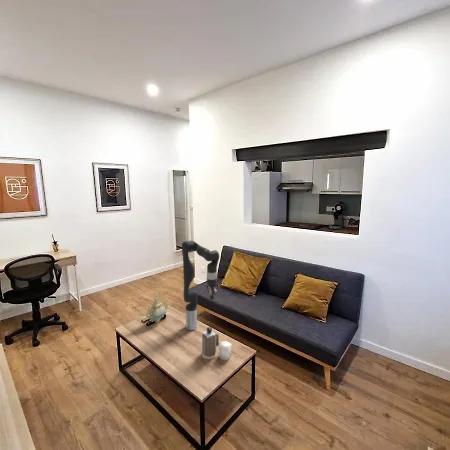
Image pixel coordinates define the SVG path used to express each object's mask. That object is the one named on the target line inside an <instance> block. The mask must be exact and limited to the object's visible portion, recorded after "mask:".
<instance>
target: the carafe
mask: <svg viewBox="0 0 450 450" xmlns="http://www.w3.org/2000/svg"><path fill="white" fill-rule="evenodd" d="M219 335H220V334H219V333H217V332H215V330H213V329H212V333H210V334H209V333H207V330H205V331H202V335H201V341H202V342H201V345H202V346H201V347H202V348H201V356H202V357H201V358H204V359H206V360H213V359H214V358H216V357H218V351H217V347H219V344H220V341H219V340H220V338H219Z"/></svg>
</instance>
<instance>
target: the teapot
mask: <svg viewBox="0 0 450 450" xmlns="http://www.w3.org/2000/svg"><path fill="white" fill-rule="evenodd" d="M156 292H158V294H157V293H156ZM160 293H161V292H160V291H158V290H155V292H153V295H154V300H153V303H151V304H150V305H151V306H150V308H149V307H147V306H146V307H145V308H144V309H145V311H146V314H145V315H146V318H147V319H149V320H150V321H154V322H155V324H160V320H162V319H163V318H164V316H165V315H166V313H167V309H168V308H169V305H168V303H167V301H169V298H168V297H167V298H165V300H164V301H162V300H160ZM155 294H156V295H155ZM164 305H165V307H164Z"/></svg>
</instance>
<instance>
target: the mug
mask: <svg viewBox="0 0 450 450" xmlns="http://www.w3.org/2000/svg"><path fill="white" fill-rule="evenodd" d="M232 352H233V344H232V343H230V342H229V341H226V340H225V341H223V340H222V341H221V342H219V345H218V358H219V359H220V360H222V361H228V360H230V358H231V353H232Z"/></svg>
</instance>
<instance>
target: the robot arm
mask: <svg viewBox="0 0 450 450" xmlns="http://www.w3.org/2000/svg"><path fill="white" fill-rule="evenodd" d="M193 252H196V253H197V254H196V255H198V256H199V257H202V258H203V259H204V260H205V261H206V262H209V263H208V264H207V265H206V266H207V267H206V285H205V286H206V288H207V293H208V294H209V300H210V301H213V300H214V298H215V297H214V296H216V294H217V293H218V290H217V289H216V286H217V284H218V272H217V271H218V269H217V268H218V264H219V261H220V260H219V259H220V254H219V251H218V250H210V249H208V248H206V247H204V246H202V245H200V244H199V243H197V242H196V241H194V240H186V241H182V243H181V253H182V265H183V269H182V271H183V272H182V274H183V301H184V303H187V304H186V305H185V329H186V330H188V331H194V330H197V328H198V311H197V309H198V307H197V306H198V292H197V290H196V289H190V286H191V284H192V282H193V279H194V277H195V273H196V271H195V266H194V264H193V263H192V261H191V260H190V256H189V253H193Z"/></svg>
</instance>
